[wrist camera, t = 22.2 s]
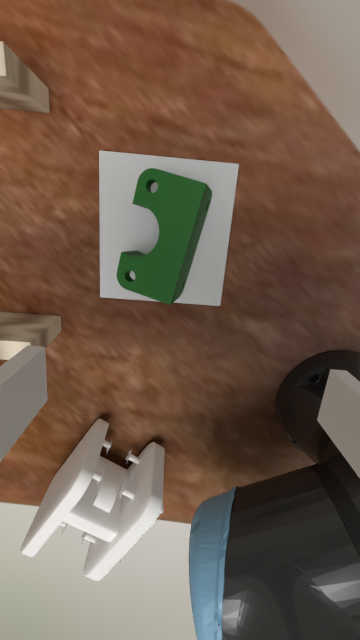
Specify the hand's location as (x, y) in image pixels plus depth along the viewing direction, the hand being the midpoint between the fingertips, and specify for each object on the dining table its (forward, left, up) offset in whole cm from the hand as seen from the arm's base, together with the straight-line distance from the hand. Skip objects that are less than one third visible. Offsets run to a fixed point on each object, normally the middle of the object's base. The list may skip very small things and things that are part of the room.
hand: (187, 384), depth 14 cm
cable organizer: (+8, +27, -23) cm, 36 cm away
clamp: (+2, -5, -22) cm, 22 cm away
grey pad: (+2, -5, -22) cm, 23 cm away
